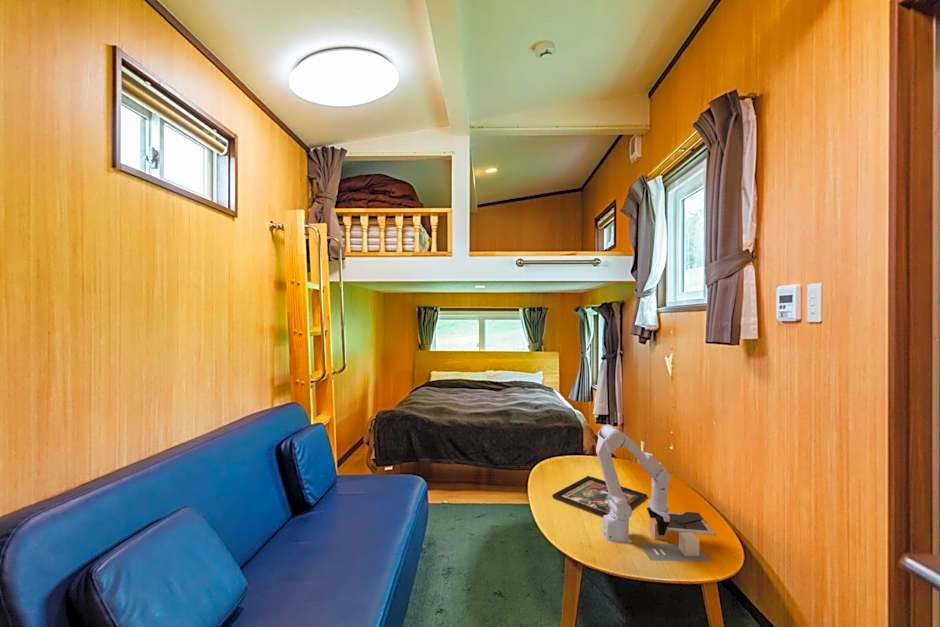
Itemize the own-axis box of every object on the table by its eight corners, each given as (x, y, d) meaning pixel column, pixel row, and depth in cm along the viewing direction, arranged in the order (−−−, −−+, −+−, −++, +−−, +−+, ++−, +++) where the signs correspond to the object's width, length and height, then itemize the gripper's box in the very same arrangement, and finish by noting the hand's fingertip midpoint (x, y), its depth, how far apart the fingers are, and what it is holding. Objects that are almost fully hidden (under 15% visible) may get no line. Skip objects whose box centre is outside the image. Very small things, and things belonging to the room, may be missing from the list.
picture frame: (698, 519, 187) (648, 515, 190) (698, 512, 187) (648, 509, 190) (714, 538, 172) (660, 534, 174) (714, 531, 172) (660, 527, 174)
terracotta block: (654, 539, 167) (655, 524, 167) (649, 532, 172) (649, 517, 172) (667, 539, 167) (668, 524, 167) (661, 532, 172) (662, 518, 172)
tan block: (685, 556, 156) (686, 539, 156) (678, 548, 161) (679, 532, 161) (699, 556, 156) (699, 540, 156) (691, 548, 161) (692, 532, 161)
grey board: (650, 562, 153) (650, 560, 153) (638, 544, 164) (638, 543, 164) (711, 563, 153) (712, 561, 153) (695, 545, 164) (695, 544, 164)
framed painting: (624, 526, 179) (625, 519, 179) (548, 502, 200) (548, 496, 200) (649, 496, 209) (649, 490, 209) (580, 478, 230) (580, 473, 230)
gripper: (678, 505, 162) (677, 541, 162) (660, 489, 177) (659, 521, 177) (659, 505, 162) (658, 540, 162) (643, 488, 177) (642, 521, 177)
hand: (658, 530), depth 170 cm, fingers open, 5 cm apart
